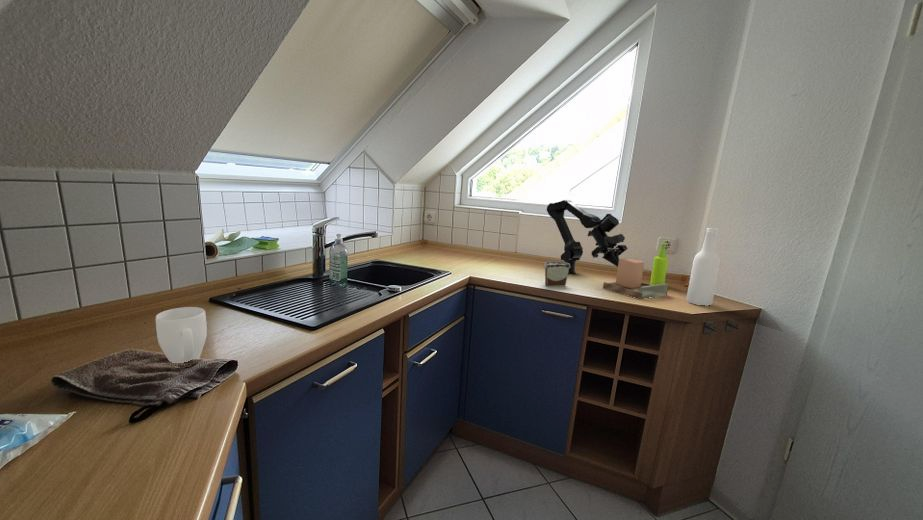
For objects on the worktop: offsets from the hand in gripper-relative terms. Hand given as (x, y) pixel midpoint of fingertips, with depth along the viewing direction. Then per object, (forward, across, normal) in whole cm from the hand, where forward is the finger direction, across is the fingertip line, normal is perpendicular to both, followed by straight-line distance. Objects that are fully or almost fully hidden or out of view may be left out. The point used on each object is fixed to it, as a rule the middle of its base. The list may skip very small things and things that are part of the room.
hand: (619, 266), depth 167 cm
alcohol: (+28, +11, -15) cm, 33 cm away
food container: (-3, -27, +16) cm, 31 cm away
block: (+9, 0, +1) cm, 9 cm away
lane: (+13, 0, 0) cm, 13 cm away
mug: (+15, -156, -2) cm, 157 cm away
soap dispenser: (+10, +23, +3) cm, 25 cm away
